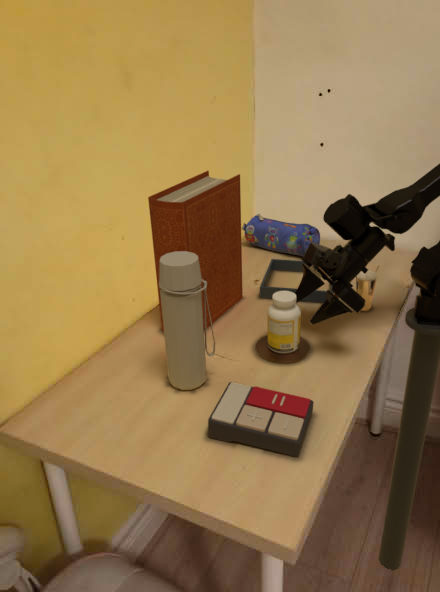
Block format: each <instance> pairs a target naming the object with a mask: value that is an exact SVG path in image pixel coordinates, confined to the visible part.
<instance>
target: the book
mask: <svg viewBox="0 0 440 592" xmlns="http://www.w3.org/2000/svg"><path fill="white" fill-rule="evenodd" d="M241 196H242V195H241V173H238V174H237V175H234V176H232V177H230V178H229V179H223V178H216V177H211V176H210V172H209V170H206V171H204V172H201V173H199V174H197V175H194V176H192V177H190V178H188V179H186V180H183V181H181V182H179V183H177V184H174V185H172V186H170V187H168V188H166V189H163V190H161V191H159V192H157V193H154V194H152V195H150V196H148V197H147V199H148V209H149V219H150V228H151V237H152V247H153V257H154V266H155V267H154V268H155V276H156V286H157V296H158V305H159V315H160V325H161V331H162V333H164V326H163V316H162V306H161V296H160V290H161V288H159V273H160V258H161V257H162V256H163V255H165V254H167V253H171V252H175V251H187V252H192V253H195V254H196V255H197V256H198V258H199V265H200V271H201V277H202V279H203V280H204V281H206V282H207V289H206V295H207V300H208V306H209V311H210V317H211V322H212V324H214V323H215V322H216V321H218V319H219V318H221V317H222V316H223V315H224V314H225V313H226V312H228V311H229V310H230V309H231V308H232V307H234V306H235V305H236V304H237V303H238V302H240V301H241V300H242V299H243V258H242V257H243V254H242V253H243V252H242V204H241V203H242V202H241ZM202 288H203V282H202V281H201V289H202ZM201 292H202V310H203V327H204V331H205V315H204V290H203V291H201ZM206 295H205V300H206ZM207 300H206V329H208V328H209V327H211V323H210V317H209V312H208V306H207Z"/></svg>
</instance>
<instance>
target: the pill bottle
mask: <svg viewBox="0 0 440 592" xmlns="http://www.w3.org/2000/svg"><path fill="white" fill-rule="evenodd" d="M271 300H272V301H271V302H272V304H270V305H269V307H268V309H267V335H268V346H269V348H270V349H271V350H272V351H274V352H277V353H283V354H284V353H291V352H294V351H295V350H297V349H298V347H299V344H300V337H301V320H302V319H301V317H302V315H301V313H302V312H301V311H302V310H301V307H300V306H299V305H297V303H296V294H295V293H293V292H290V291H278V292H275V293H274V294H273V295H272V299H271Z"/></svg>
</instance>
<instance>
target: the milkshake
mask: <svg viewBox="0 0 440 592" xmlns="http://www.w3.org/2000/svg"><path fill="white" fill-rule="evenodd" d="M379 268H380V265H377V266H376V268H375V271H374V270H373V271H372V270H370V269H368V271H367V272H366V273H365V274H364V273H363V272H362V271H361V272H360V273H359V274H358V275H357V276H356V277H355V291H356V292H357V293H358V294H359V295H360V296H362V297H363V298H364V299H365V307H364V308H363V309H362V310H361V311H363V312H366V311H367V312H368V311H369V310H370V309H371V308H372V305H373V300H374V299H373V297H374V293H375V288H376V283H377V279H378V275H377V272H378V270H379Z"/></svg>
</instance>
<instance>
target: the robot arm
mask: <svg viewBox="0 0 440 592" xmlns="http://www.w3.org/2000/svg"><path fill="white" fill-rule="evenodd" d="M438 198H440V163H438V164H437V165H435V166H434V167H433V168H432V169H430V170H429V171H428V172H427V173H425V174H424V175H423V176H421V177H420V178H418V180H416V181H415V182H414V183H412V184H410V185H409V186H406V187H403V188H400V189H396V190H394V191H392V192H390V193H388V194H386V195H385V196H383V197H381V198H380V199H378V200H377V202H373V203H370V204H366V205H362V204H361V203H360V201H359V200H358V198H356V197H355V196H354V195H353V194H351V193H348V194H347V195H346V196H345V197H343V198H340V199H337V200H336V201H334V202H333V203H331V204H329V206H328V207H327V208H326V210H325V211H324V212H323V217H322V219H323V222H324V223H325V224H326V225H327V226H328V227H329V228H330V229H332V231H334V232H335V234H337V235H338V236H339V237H340V238H341V239H342V240H344V241H347V242H346V243H345V244H344V246H342V245H341V244H338V245H336V246H335V247H334V248H329V247H328V246H325V245H322V244H316V243H313V242H310V244H309V246H308V248H307V250H306V253H305V255H304V257H303V256H302V257H301V259H300V261H303V262H304V263H305V265H304V264H303V263H302V267H303V272H302V277H301V280H300V282H299V285H298V287H297V288H296V289H297V291H296V293H295V294H296V304H298V303H300V302H302V301H301V300H302V299H304V298H305V297H307V296H308V295H310V294H311V293H313V292H314V291H315V290H319V289H321V287H322V286H325V284H326V283H325V282H324V281H326V282H327V283H328V284H330V286H332V291H333V292H334V294H333V293H332V292H330V291H331V290H329V289H327V290H326V291H327V298H326V300H325V302H324V303H321V305H320V306H319V307H318V309H317V310H316V311H315V313H314V314H313V315H312V316H311V318H310V319H309V323H310V324H311V325H312V326H313V325H316V324H320V323H321V322H325V321H327V320H329V319H332V318H335V317H338V316H341V315H344V314H345V315H346V314H348V313H349V314H352V313H354V312H355V313H356V314H359V313H360V312H361V311H362V309H363V308H364V307H365V299H364V298H363V297H362V296H360V295H359V294H358V293H357V292H356V289H354V288H353V287H354V284H352V283H351V282H352V281H353V280H355V279H356V276H357V275H358V274H359V273H360V272H361V271H362V272H363V273H364V274H365V273H366V272H367V271H368V270H369V269H368V268H367V266H368V265H369V263H371V262H372V261H373V260H374V258H376V256H377V255H378V254H379V253H380V252H381V251H382V250H383V249H384V248H387V249H388V250H390V251H391V252H394V251H396V245H395V240H396V237H395V236H394V235H393V234H396V235H403V234H405V233H407V232H408V231H409V230H411V229H412V228H413V227H414V226H415V224H416V223H418V222H419V221H420V220H421V218H422V217H423V215H424V212H425V210H426V208H427V207H428V206H430V204H431V203H433V202H434V201H435V200H437V199H438ZM370 224H373V225H370ZM383 230H387V231H388V232H389V233H385V231H383ZM391 233H392V234H391ZM411 264H412V265H411V266H410V269H409V273H410V277H411V279H412V280H413V281H414V284H415V287H417V288H419V294H416V295H415V301H414V307H413V308H414V316H415V317H416V319H417V323H418V324H424V325H436V326H440V240H439V241H438V242H437V243H436V244H435V245H433V246H430V247H429V248H427V247H426V246H422V247H421V248H420V249H419V252H418V253H417V255H416V257H415V258H414V259H413V260H412V261H411ZM321 278H322V279H321ZM323 280H324V281H323Z"/></svg>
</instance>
